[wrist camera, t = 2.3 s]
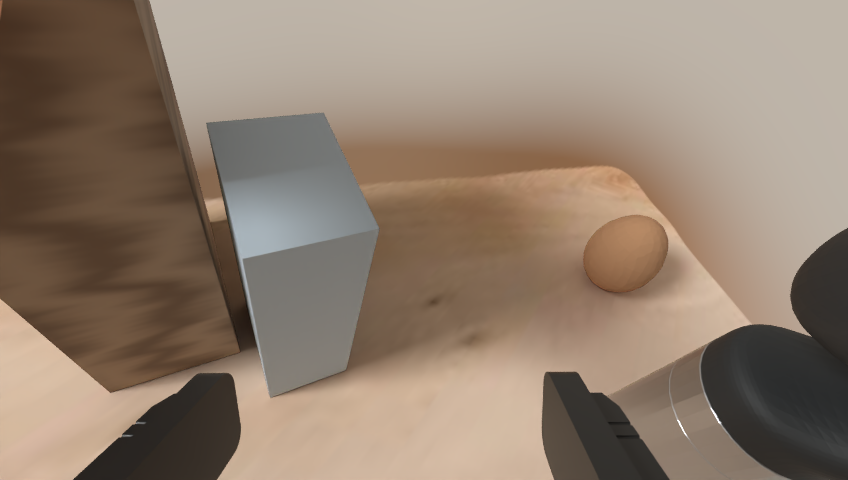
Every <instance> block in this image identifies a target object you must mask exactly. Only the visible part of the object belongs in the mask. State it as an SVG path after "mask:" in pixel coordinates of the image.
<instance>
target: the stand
mask: <svg viewBox="0 0 848 480" xmlns="http://www.w3.org/2000/svg"><path fill="white" fill-rule="evenodd" d="M0 299H1V300H3V301H4V302H5V303H6V304H7V305H8V306H10V307H11V308H12V309H13V310H14V311H15V312H17V313H18V314H19V315H20V316H21V317H22V318H24V319H25V320H26V321H27V322H28V323H29V324H31V325H32V326H33V327H34V328H35V329H36V330H38V331H39V332H40V333H41V334H42V335H43V336H45V337H46V338H47V339H48V340H49V341H50V342H52V343H53V344H54V345H55V346H56V347H57V348H59V349H60V350H61V351H62V352H63V353H64V354H66V355H67V356H68V357H69V358H70V359H71V360H73V361H74V362H75V363H76V364H77V365H78V366H80V367H81V368H82V369H83V370H84V371H85V372H87V373H88V374H89V375H90V376H91V377H93V378H94V379H95V380H96V381H97V382H98V383H100V384H101V385H102V386H103V387H104V388H105V389H107V390H108V391H109V392H110V393H111V392H114V391H117V390H120V389H123V388H127V387H130V386H133V385H136V384H140V383H143V382H146V381H149V380H152V379H156V378H159V377H162V376H165V375H169V374H172V373H175V372H178V371H181V370H185V369H188V368H191V367H194V366H198V365H201V364H204V363H207V362H210V361H214V360H217V359H220V358H223V357H227V356H230V355H233V354H236V353H239V352H240V349H239V345H238V341H237V336H236V332H235V328H234V323H233V319H232V315H231V310H230V306H229V302H228V297H227V293H226V289H225V284H224V280H223V276H222V271H221V267H220V263H219V258H218V254H217V250H216V245H215V241H214V237H213V232H212V228H211V224H210V220H209V216H208V213H207V209H206V205H205V202H204V198H203V194H202V191H201V187H200V184H199V180H198V176H197V172H196V169H195V165H194V162H193V158H192V154H191V151H190V147H189V143H188V140H187V136H186V133H185V129H184V125H183V122H182V118H181V114H180V111H179V107H178V104H177V100H176V96H175V92H174V89H173V85H172V81H171V78H170V74H169V71H168V67H167V63H166V60H165V56H164V52H163V49H162V45H161V41H160V38H159V34H158V31H157V27H156V23H155V20H154V16H153V12H152V9H151V5H150V1H149V0H2V8H1V16H0Z"/></svg>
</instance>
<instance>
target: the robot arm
mask: <svg viewBox="0 0 848 480" xmlns="http://www.w3.org/2000/svg"><path fill="white" fill-rule="evenodd" d="M790 297H791V304H792V309H793V311H794V313H795V315H796V317H797V319H798V320H799V322H800V324H801V325H802V326H803V328H804V329H805V330H806V331H807V332H808V333H809V334H810V335H811V336H812V337H810V336H807V335H804V334H801V333H798V332H795V331H792V330H788V329H785V328H782V327H777V326H772V325H760V324H759V325H748V326H743V327H740V328H737V329H735V330H733V331H731V332H729V333H727V334H725V335H723V336H721V337H719V338H717V339H715V340H714V341H712V342H710V343H708V344H706V345H704V346H702V347H700V348H698V349H696V350H694V351H693V352H691V353H689V354H687V355H685V356H683V357H682V358H680V359H678V360H676V361H674V362H672V363H670V364H668V365H666V366H664V367H663V368H661V369H659V370H657V371H655V372H653V373H651V374H649V375H647V376H645V377H644V378H642V379H640V380H638V381H636V382H634V383H632V384H630V385H628V386H626V387H625V388H623V389H621V390H619V391H617V392H615V393H613V394H611V395H609V396H605V395H604V394H603V393H590V392H589V390H588V389H587V387H586V385H585V384H584V382H583V380H582V379H581V377H580V375H579V374H578V373H577V372H546V373H545V376H544V386H543V409H542V438H543V445H544V450H545V454H546V457H547V460H548V463H549V466H550V469H551V472H552V475H553V477H554V480H848V228H847V229H845V230H843V231H842V232H840V233H838V234H837V235H835V236H834V237H832V238H831V239H829V240H828V241H827V242H825V243H824V244H823V245H821V246H820V247H819V248H818V249H817V250H816V251H815V252H814V253H813V254H812V255H811V256H810V257H809V258H808V259H807V260H806V261H805V262H804V263H803V265H802V266H801V267H800V269H799V270H798V272H797V273H796V275H795V277H794V280H793V283H792V288H791V294H790ZM240 434H241V424H240V417H239V411H238V404H237V397H236V390H235V384H234V379H233V377H232V375H231V374H229V373H200V374H197V375H196V376H194V377H193V378H192V379H191V380H190V381H189V382H188V383H187V384H186V385H185V386H184V387H183V388H182V389H181V390H180V391H179V392H178V393H177V394H173V395H171V396H170V397H168V398H166V399H164V400H163V401H161V402H159V403H158V404H156V405H154V406H152V407H151V408H150V409H149V410H148V411H147V412H146V413H145V414H144V415H143V416H142V417H141V418H139V419H138V420H137V421H136V424H135V425H132V426H131V427H130V428H129V429H128V430H126V431H125V432H124V433H123V434H122V437H121V438H118V439H117V440H116V441H114V442H113V443H112V444H111V445H110V446H109V447H108V448H107V449H106V450H105V451H104V452H103V453H101V454H100V455H99V456H98V457H97V458H96V459H95V460H94V461H93V462H92V463H91V464H89V465H88V466H87V467H86V468H85V469H84V470H83V471H82V472H81V473H80V474H79V475H78V476H76V477H75V478H74V479H73V480H217V479H218V477H219V476H220V474H221V473H222V471H223V470H224V468H225V467H226V465H227V464H228V462H229V460H230V459H231V457H232V456H233V454H234V453H235V451H236V449H237V446H238V443H239V440H240Z"/></svg>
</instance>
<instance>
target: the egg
mask: <svg viewBox="0 0 848 480" xmlns="http://www.w3.org/2000/svg"><path fill="white" fill-rule="evenodd" d="M667 251H668V238H667V235H666V232H665V230H664V228H663V226H661V225H660V224H659V223H658V222H657V221H656V220H654V219H652V218H650V217H646V216H642V215H630V216H625V217H621V218H618V219H616V220H613V221H610V222H608V223H607V224H605V225H604V226H602V227H601V228H600V229H599V230H597V231H596V232H595V233H594V235H593V236H592V237H591V238H590V240H589V241H588V243H587V245H586V248H585V251H584V258H583V260H584V268H585V271H586V273H587V275H588V277H589V278H590V280H591V281H592V282H593V283H594V284H595V285H597V286H598V287H600V288H602V289H604V290H608V291H611V292H628V291H632V290H635V289H637V288H640V287H642V286H644V285H645V284H646V283H648V282H649V281H650V280H651V279H653V278H654V277H655V276H656V274H657V273H658V272H659V270H660V269H661V268H662V266H663V263H664V260H665V258H666V255H667Z"/></svg>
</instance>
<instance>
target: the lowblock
mask: <svg viewBox="0 0 848 480" xmlns="http://www.w3.org/2000/svg"><path fill="white" fill-rule="evenodd" d="M206 124H207V129H208V133H209V138H210V142H211V147H212V151H213V155H214V160H215V165H216V169H217V174H218V178H219V183H220V187H221V192H222V197H223V201H224V206H225V210H226V215H227V219H228V224H229V228H230V233H231V237H232V242H233V246H234V251H235V255H236V260H237V265H238V269H239V274H240V278H241V283H242V287H243V292H244V296H245V301H246V305H247V309H248V313H249V317H250V321H251V325H252V328H253V332H254V336H255V340H256V344H257V348H258V352H259V356H260V360H261V364H262V368H263V372H264V376H265V380H266V384H267V387H268V391H269V395H270V398H271V397H274V396H277V395H279V394H282V393H285V392H287V391H290V390H293V389H296V388H298V387H301V386H304V385H307V384H309V383H312V382H315V381H318V380H320V379H323V378H326V377H329V376H331V375H334V374H337V373H340V372H342V371H345V370H346V369H347V364H348V360H349V356H350V352H351V347H352V343H353V339H354V335H355V330H356V326H357V322H358V318H359V314H360V309H361V305H362V301H363V297H364V292H365V288H366V284H367V280H368V275H369V271H370V267H371V263H372V258H373V254H374V250H375V246H376V242H377V237H378V233H379V226H378V224H377V222H376V220H375V218H374V216H373V214H372V212H371V210H370V208H369V206H368V204H367V202H366V200H365V197H364V195H363V193H362V191H361V189H360V187H359V185H358V183H357V181H356V179H355V177H354V175H353V173H352V171H351V168H350V166H349V164H348V162H347V160H346V158H345V156H344V154H343V152H342V150H341V148H340V146H339V144H338V142H337V139H336V138H335V135H334V133H333V131H332V129H331V127H330V125H329V123H328V121H327V119H326V117H325V115H324V113H315V114H304V115H292V116H280V117H269V118H257V119H246V120H233V121H222V122H210V123H206Z"/></svg>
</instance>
